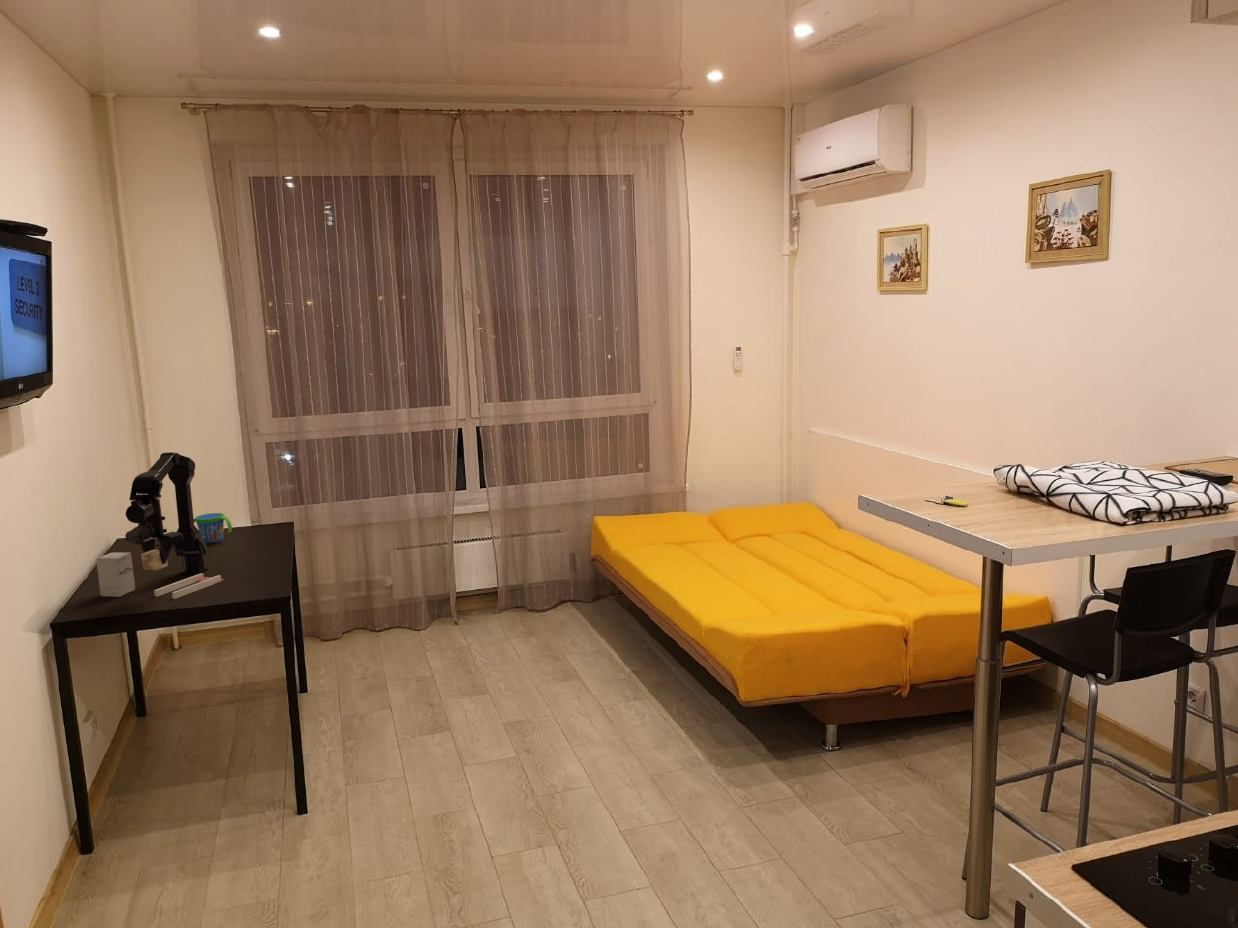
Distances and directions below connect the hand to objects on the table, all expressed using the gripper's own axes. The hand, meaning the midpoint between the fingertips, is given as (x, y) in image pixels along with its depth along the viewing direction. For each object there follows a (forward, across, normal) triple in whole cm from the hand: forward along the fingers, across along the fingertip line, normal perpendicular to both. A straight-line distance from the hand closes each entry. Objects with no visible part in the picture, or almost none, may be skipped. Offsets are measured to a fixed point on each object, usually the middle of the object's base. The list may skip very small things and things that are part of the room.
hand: (157, 562), depth 299 cm
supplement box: (+11, -16, -3) cm, 19 cm away
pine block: (+1, 0, -1) cm, 2 cm away
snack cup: (+12, -36, +57) cm, 69 cm away
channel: (+11, +3, +8) cm, 14 cm away
